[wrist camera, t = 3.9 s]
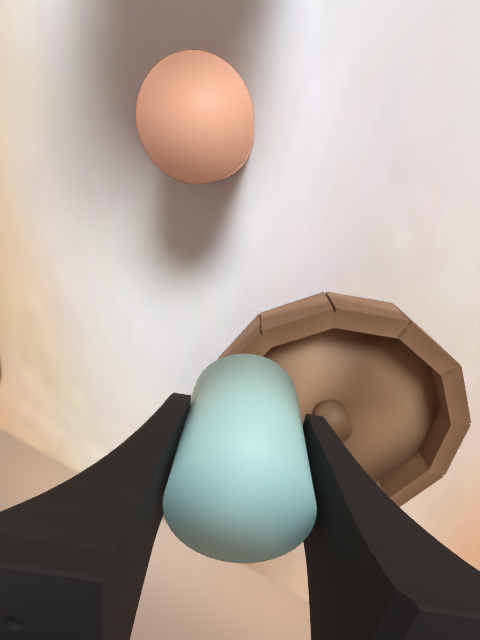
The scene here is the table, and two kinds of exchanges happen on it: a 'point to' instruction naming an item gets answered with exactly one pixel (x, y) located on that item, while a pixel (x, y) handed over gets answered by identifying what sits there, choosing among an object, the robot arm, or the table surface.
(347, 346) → the tray
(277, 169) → the table surface
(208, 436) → the pale teal rounded piece
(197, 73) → the peach rounded cylinder
